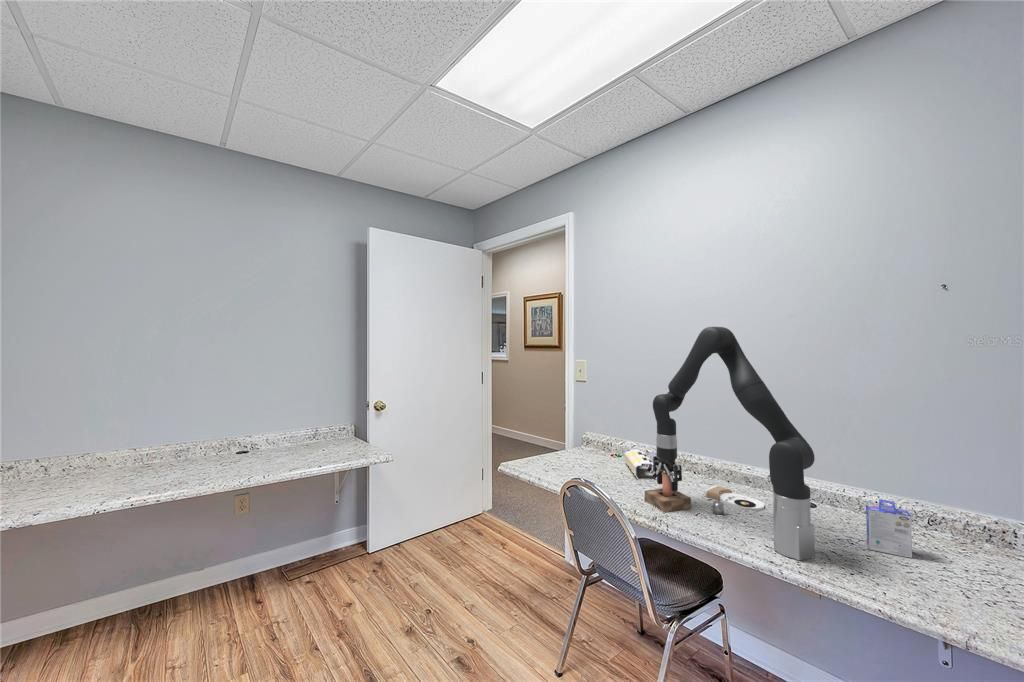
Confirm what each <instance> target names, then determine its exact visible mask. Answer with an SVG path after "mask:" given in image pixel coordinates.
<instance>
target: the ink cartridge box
mask: <svg viewBox="0 0 1024 682" xmlns="http://www.w3.org/2000/svg"><path fill="white" fill-rule="evenodd" d="M884 503H885V504H884ZM886 503H887V505H886ZM888 504H890V505H888ZM865 514H866V515H865V516H866V518H865V520H866V546H867V549H868V550H870V551H876V552H880V553H885V554H888V555H889V554H890V555H895V556H900V557H906V558H910V559H912V557H913V547H912V546H913V544H912V543H913V541H912V540H913V539H912V532H913V530H912V527H913V526H912V524H913V523H912V515H911V514H910V513H909V511H908V510H905V509H899V508H896V503H895V501H894V500H893V501H892V500H887V499H880V498H879V499H878V506H877V505H869V504H865Z"/></svg>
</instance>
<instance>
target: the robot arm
mask: <svg viewBox="0 0 1024 682" xmlns="http://www.w3.org/2000/svg"><path fill="white" fill-rule="evenodd" d="M713 354H717V355H718V356H719V357H720V358H721V360H722V362H723V363H724V365H725V366H726V369H727V371H728V374H729V379H730V385H731V388H732V391H733V393H734V395H735V396H736V398H737V400H738V401H739V403H740V404H741V406H742V407H743V408H744V409H745V411H746V412H747V413H748V414H749V415H750V416H751V417H753V418H754V419H755V420H756V421H758V423H760V424H761V425H763V427H764V428H765V429H766V430H767V431H768V432H769V433H770V435H771V436H772V437H771V438H773V440H774V441H775V443H774V444H772V445H771V447H770V450H769V453H768V464H769V467H768V468H769V479H770V483H771V485H772V491H773V494H772V497H773V499H772V500H773V501H772V504H773V508H772V509H773V549H774V550H775V552H777V553H779V554H780V555H782V556H785V557H788V558H792V559H795V560H797V561H802V560H803V561H804V560H808V559H813V558H815V525H814V524H813V523H812V522H811V520H812V518H811V517H812V516H811V489H810V486H809V485H807V484H806V483H805V474H804V471H805V470H807V469H809V468H811V467H812V466H813V465H814V464H815V452H814V450H813V449H812V447H811V445H810V444H809V443H808V442H807V440H806V439H805V438H804V437H803V435H802V434H801V433H800V432H799V431H798V429H797V428H796V427H795V426H794V425H793V423H792V422H791V421H790V419H789V418H788V417H787V415H786V414H785V412H784V410H783V409H782V407H781V406H780V404H779V403H778V402H777V400H776V399H775V397H774V396H773V394H772V392H771V391H770V389H769V388H768V387H767V385H766V383H765V381H763V379H762V378H761V377H760V374H758V373H757V371H756V369H755V368H754V366H753V365H752V364H751V362H750V361H749V360H748V358H747V357H746V355H745V353H744V351H743V349H742V347H741V346H740V344H739V341H738V340H737V338H736V336H735V334H734V333H733V331H731V330H730V329H729V328H727V327H725V326H724V327H723V326H708V327H707V326H706V327H705V328H703V329H702V330H701V331H700V333H698V336H697V338H696V339H695V342H693V345H692V347H691V349H690V351H689V353H688V355H687V357H685V358H686V359H685V360H684V361H683V364H682V365H681V366H680V368H679V369H678V371H677V372H676V374H675V375H674V376H673V378H672V379H671V380H670V381H669V383H668V385H667V387H668V392H667V393H663V394H661V393H660V394H657V395H655V397H654V398H653V401H652V410H653V413H654V417H655V421H656V438H655V441H656V446H655V447H656V451H655V452H656V453H655V454H656V455H655V457H653V456H652V459H653V460H652V461H653V470H652V471H653V472H654V473H655V472H656V474H657V479H656V482H657V484H658V485H662V473H663V472H666V473H667V474H668V476H670V478H671V490H672V491H673V492H675V491H678V489H679V488H678V486H679V482H683V475H682V474H683V473H682V465H681V464H676V459H678V439H677V422H676V420H675V419H673V418H671V415H670V413H671V412H674V411H675V412H676V411H677V410H678V409H679V407H680V406H682V404H683V401H684V399H685V396H686V394H687V393H688V392H689V391H690V389H691V388H692V387H693V386H694V385H695V383H696V381H697V379H698V378H699V374H700V370H701V368H702V366H703V365H704V364H705V362H706V360H708V359H709V357H711V356H712V355H713ZM656 466H657V468H656Z"/></svg>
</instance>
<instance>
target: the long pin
mask: <svg viewBox="0 0 1024 682" xmlns="http://www.w3.org/2000/svg"><path fill="white" fill-rule="evenodd" d="M661 485H662V486H661V487H662V494H663V496H664V497H672V490H671V478H670V476H668V474H667V473H666V472H665V471H664V472H663V473H662V484H661Z"/></svg>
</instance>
